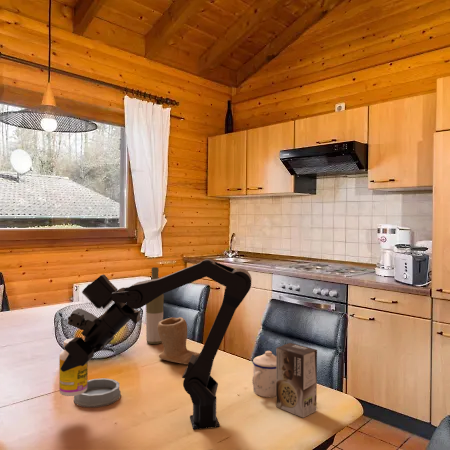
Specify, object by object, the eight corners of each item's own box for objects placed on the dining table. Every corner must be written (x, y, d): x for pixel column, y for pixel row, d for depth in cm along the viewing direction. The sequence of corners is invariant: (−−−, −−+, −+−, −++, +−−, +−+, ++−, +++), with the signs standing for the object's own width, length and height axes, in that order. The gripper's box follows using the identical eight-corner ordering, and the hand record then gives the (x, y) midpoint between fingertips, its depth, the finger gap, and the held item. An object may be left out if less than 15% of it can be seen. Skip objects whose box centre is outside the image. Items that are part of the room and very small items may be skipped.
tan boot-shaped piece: (150, 361, 146) (150, 318, 146) (173, 352, 156) (174, 312, 156) (182, 371, 137) (183, 325, 137) (205, 361, 147) (205, 318, 147)
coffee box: (317, 410, 110) (318, 349, 110) (303, 418, 106) (304, 355, 106) (289, 399, 117) (290, 341, 117) (274, 406, 112) (275, 346, 112)
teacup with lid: (263, 382, 129) (264, 344, 128) (289, 390, 123) (290, 351, 123) (240, 395, 119) (240, 354, 119) (267, 404, 114) (267, 361, 113)
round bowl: (119, 405, 112) (119, 394, 112) (70, 409, 110) (70, 397, 109) (121, 386, 124) (121, 376, 124) (77, 389, 122) (77, 379, 122)
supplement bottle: (78, 398, 101) (78, 345, 101) (53, 396, 103) (53, 343, 102) (92, 387, 108) (92, 337, 108) (69, 385, 109) (69, 336, 109)
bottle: (152, 339, 172) (153, 266, 172) (166, 341, 169) (167, 267, 169) (141, 343, 166) (142, 268, 166) (156, 346, 163) (157, 269, 162)
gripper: (102, 292, 114) (62, 331, 115) (72, 306, 95) (26, 354, 96) (130, 321, 114) (91, 361, 115) (106, 342, 95) (59, 389, 96)
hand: (68, 365), depth 105 cm, fingers closed on supplement bottle, 7 cm apart
